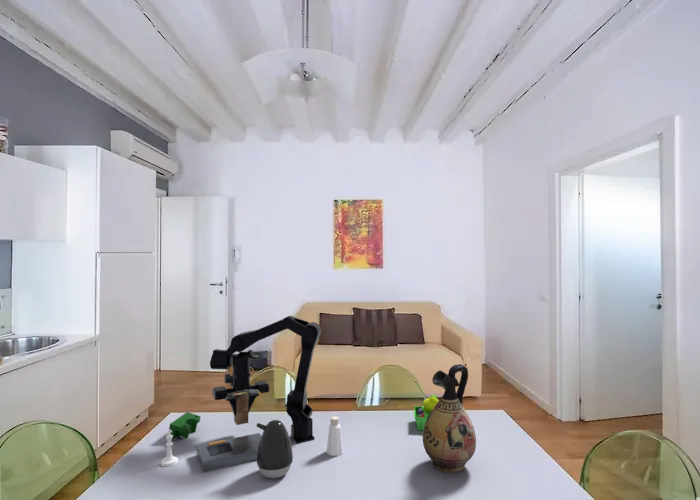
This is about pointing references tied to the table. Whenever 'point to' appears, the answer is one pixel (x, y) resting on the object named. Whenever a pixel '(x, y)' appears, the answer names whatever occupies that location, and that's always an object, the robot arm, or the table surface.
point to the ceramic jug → (449, 425)
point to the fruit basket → (424, 411)
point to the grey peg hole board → (237, 452)
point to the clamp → (184, 425)
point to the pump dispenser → (274, 450)
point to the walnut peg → (241, 409)
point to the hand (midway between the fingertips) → (241, 414)
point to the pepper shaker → (334, 438)
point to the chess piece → (169, 452)
